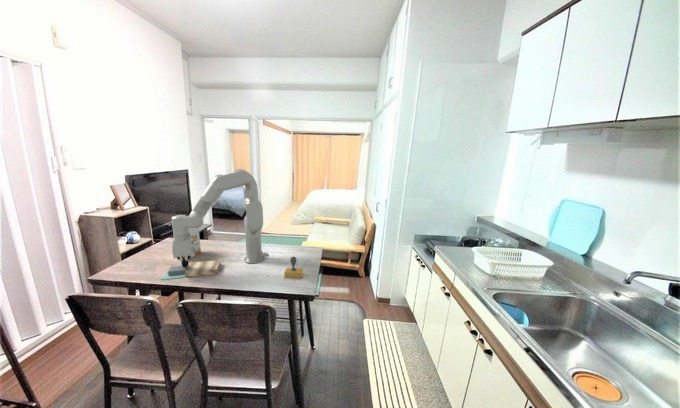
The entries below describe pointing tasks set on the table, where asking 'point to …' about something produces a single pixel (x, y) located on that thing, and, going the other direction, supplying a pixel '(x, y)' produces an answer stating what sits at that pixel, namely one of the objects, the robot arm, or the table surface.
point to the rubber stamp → (293, 270)
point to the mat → (172, 276)
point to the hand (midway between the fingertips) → (185, 266)
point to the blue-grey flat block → (177, 270)
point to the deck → (203, 268)
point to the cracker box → (195, 239)
